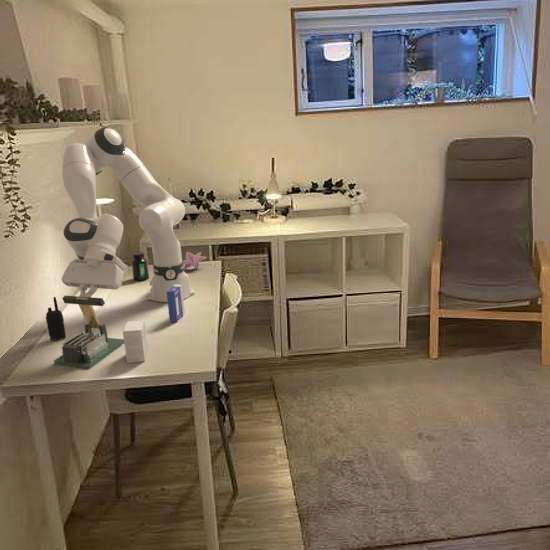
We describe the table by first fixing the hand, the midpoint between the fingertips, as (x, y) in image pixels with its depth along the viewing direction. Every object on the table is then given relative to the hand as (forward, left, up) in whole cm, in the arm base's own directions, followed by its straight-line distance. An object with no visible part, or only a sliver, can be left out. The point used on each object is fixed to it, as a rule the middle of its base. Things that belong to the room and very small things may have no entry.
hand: (84, 299), depth 176 cm
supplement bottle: (-73, +21, -18) cm, 78 cm away
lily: (-76, +45, -18) cm, 90 cm away
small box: (+10, +14, -18) cm, 25 cm away
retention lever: (-2, +2, -10) cm, 11 cm away
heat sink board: (+1, 0, -18) cm, 18 cm away
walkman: (-18, +30, -18) cm, 39 cm away
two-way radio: (-15, -11, -18) cm, 26 cm away
